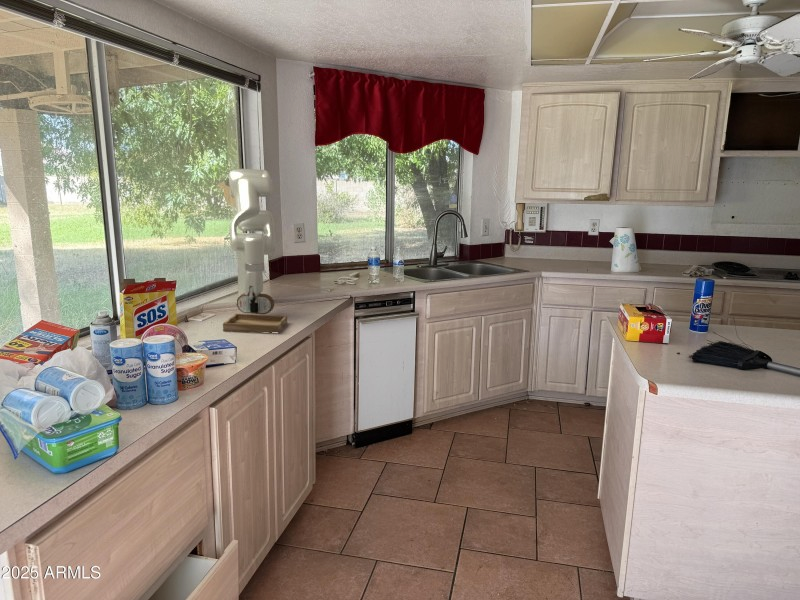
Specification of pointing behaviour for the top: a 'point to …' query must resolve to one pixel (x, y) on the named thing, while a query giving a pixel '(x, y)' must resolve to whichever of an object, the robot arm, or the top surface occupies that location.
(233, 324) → the walnut tray
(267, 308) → the tin
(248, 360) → the top surface
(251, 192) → the robot arm
